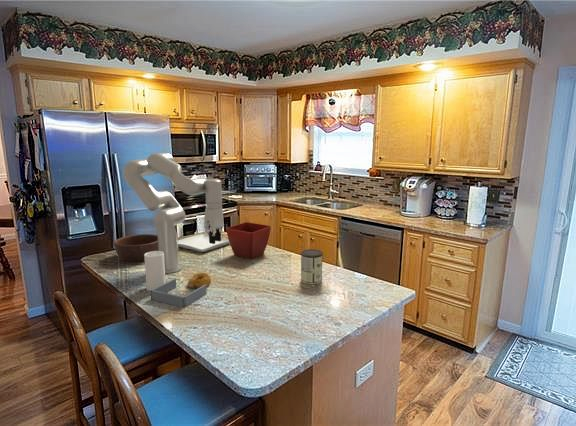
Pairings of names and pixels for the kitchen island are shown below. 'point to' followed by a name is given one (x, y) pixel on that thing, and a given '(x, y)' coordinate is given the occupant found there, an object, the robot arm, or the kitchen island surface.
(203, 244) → the square plate
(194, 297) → the box
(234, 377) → the kitchen island surface
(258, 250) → the plant pot
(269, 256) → the kitchen island surface
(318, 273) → the coffee can
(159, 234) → the robot arm
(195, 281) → the bagel
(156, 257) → the cup
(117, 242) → the wooden bowl
